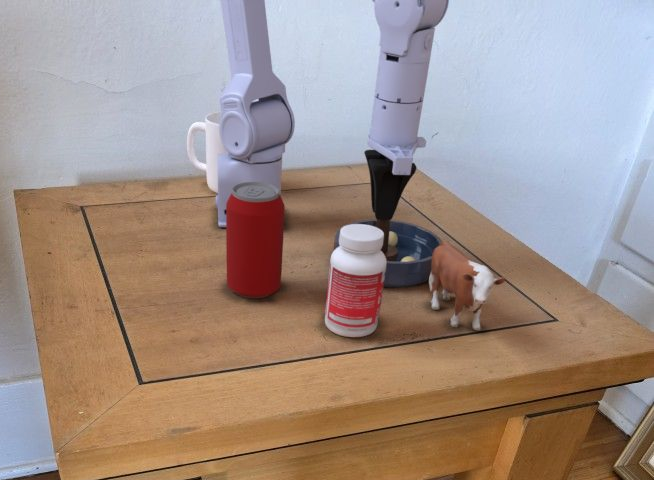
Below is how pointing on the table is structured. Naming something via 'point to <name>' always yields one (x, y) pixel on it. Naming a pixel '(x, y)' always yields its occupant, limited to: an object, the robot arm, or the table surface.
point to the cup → (207, 147)
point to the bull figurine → (460, 282)
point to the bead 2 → (407, 259)
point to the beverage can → (254, 239)
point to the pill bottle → (356, 281)
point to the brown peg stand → (387, 240)
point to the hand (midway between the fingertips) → (382, 215)
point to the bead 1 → (392, 238)
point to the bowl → (406, 253)
